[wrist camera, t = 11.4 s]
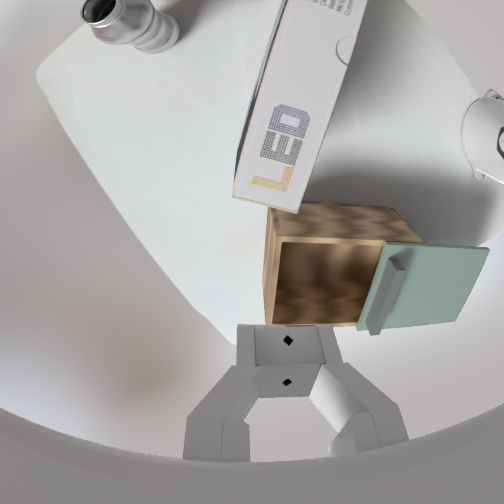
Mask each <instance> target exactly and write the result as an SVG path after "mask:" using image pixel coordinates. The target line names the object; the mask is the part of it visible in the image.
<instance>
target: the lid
mask: <svg viewBox="0 0 504 504" xmlns="http://www.w3.org/2000/svg"><path fill="white" fill-rule="evenodd" d="M489 251H490V250H489V249H488V248H487V247H471V246H455V245H438V244H420V243H401V242H385V243H384V247H383V250H382V254H381V257H380V260H379V263H378V266H377V270H376V273H375V276H374V279H373V282H372V285H371V288H370V291H369V293H368V296H367V299H366V302H365V305H364V307H363V310H362V313H361V316H360V318H359V321H358V323H357V326H356V328H357V331H359V330H360V331H361V330H369V333H370V335H379V334H380V332H381V330H382V329H388V328H400V327H410V326H419V325H428V324H437V323H446V322H452V321H455V320H456V319H457V317H458V315H459V313H460V311H461V310H462V308H463V306H464V304H465V302H466V300H467V298H468V296H469V295H470V293H471V291H472V289H473V287H474V285H475V282H476V280H477V278H478V276H479V274H480V272H481V270H482V267H483V265H484V263H485V260H486V258H487V256H488V253H489Z"/></svg>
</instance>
